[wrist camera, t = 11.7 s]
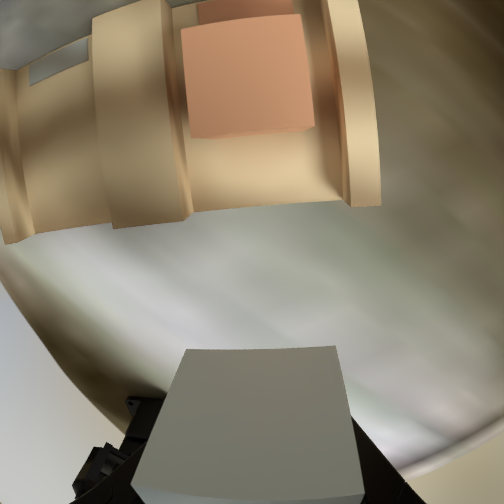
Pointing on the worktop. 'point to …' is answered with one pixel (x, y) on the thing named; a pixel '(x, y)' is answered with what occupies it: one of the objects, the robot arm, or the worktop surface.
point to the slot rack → (176, 125)
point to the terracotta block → (247, 77)
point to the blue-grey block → (253, 431)
